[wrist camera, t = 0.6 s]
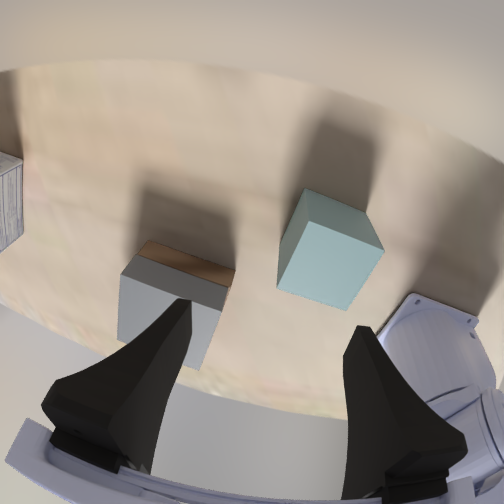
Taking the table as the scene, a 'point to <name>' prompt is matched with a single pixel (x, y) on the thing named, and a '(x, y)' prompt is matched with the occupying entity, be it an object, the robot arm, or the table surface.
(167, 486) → the robot arm
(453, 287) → the table surface
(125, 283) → the gray block
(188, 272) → the walnut block
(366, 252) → the teal block
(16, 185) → the medicine box
